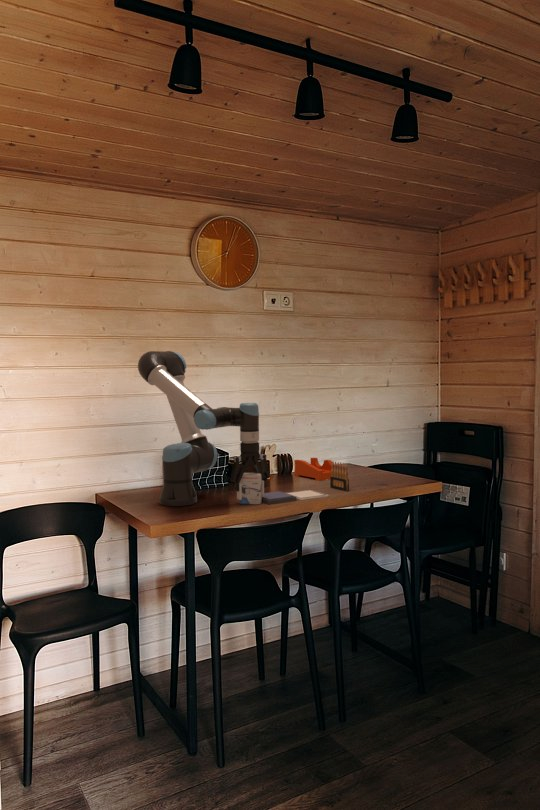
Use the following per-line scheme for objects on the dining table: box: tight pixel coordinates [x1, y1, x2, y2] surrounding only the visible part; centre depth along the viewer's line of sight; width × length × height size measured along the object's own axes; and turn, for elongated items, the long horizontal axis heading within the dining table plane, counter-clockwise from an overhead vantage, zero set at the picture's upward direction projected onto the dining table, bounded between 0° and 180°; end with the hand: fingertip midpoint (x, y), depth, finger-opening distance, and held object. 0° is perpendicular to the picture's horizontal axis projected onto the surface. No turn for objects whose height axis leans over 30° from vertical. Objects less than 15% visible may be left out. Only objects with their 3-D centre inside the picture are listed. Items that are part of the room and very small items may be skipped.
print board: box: [285, 489, 330, 501], centre depth 266 cm, size 14×14×1 cm
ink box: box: [238, 472, 263, 505], centre depth 253 cm, size 9×5×12 cm, turn 84°
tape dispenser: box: [294, 457, 333, 482], centre depth 310 cm, size 18×13×8 cm
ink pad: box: [261, 490, 297, 505], centre depth 259 cm, size 13×13×2 cm
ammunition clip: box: [329, 461, 350, 492], centre depth 279 cm, size 11×2×12 cm, turn 34°
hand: (250, 497), depth 253 cm, fingers open, 9 cm apart
